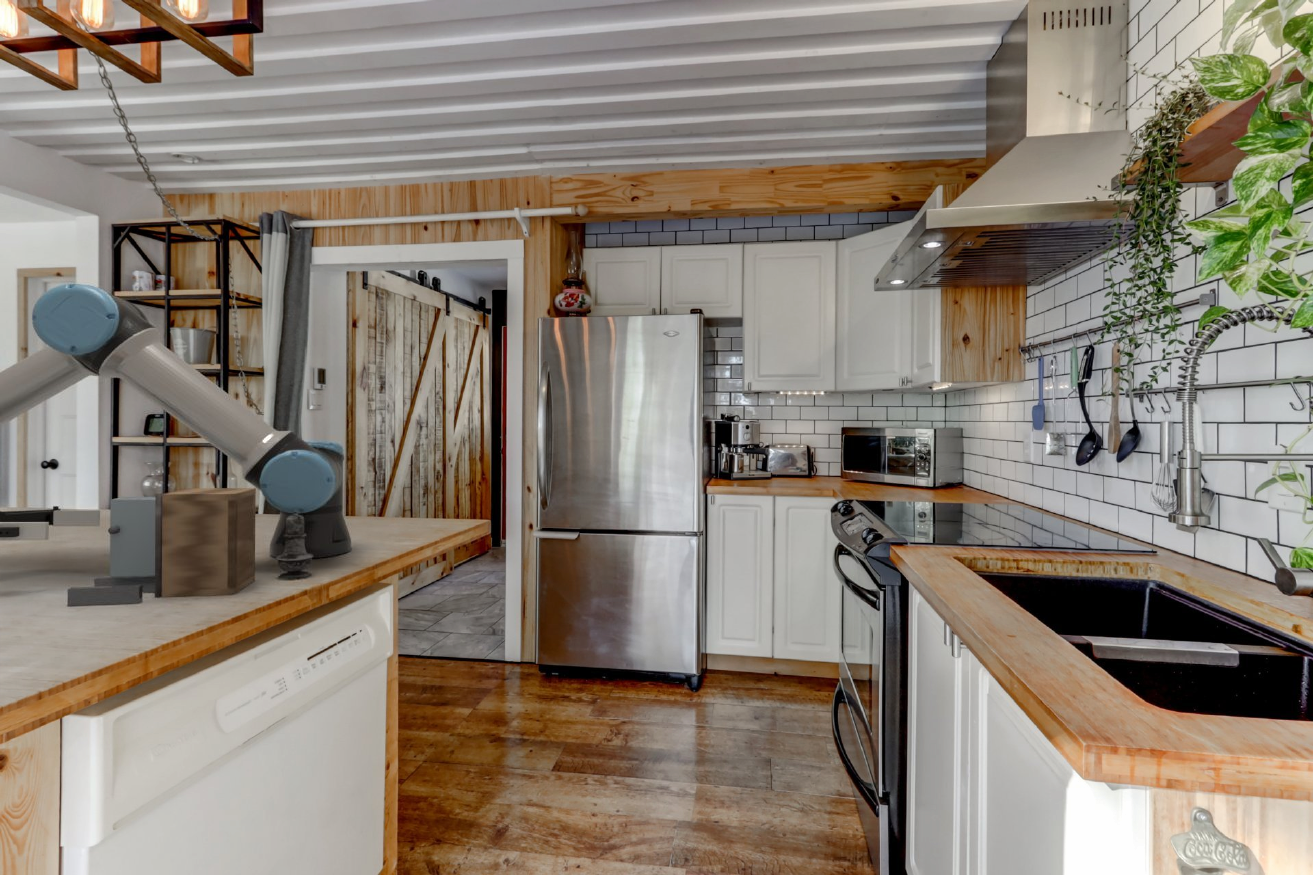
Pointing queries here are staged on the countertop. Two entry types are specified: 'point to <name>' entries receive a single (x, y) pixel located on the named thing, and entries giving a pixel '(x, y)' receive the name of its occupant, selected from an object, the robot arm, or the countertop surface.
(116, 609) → the countertop surface
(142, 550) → the door
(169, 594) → the cabinet
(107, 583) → the hinge bracket
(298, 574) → the salt shaker
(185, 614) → the countertop surface
